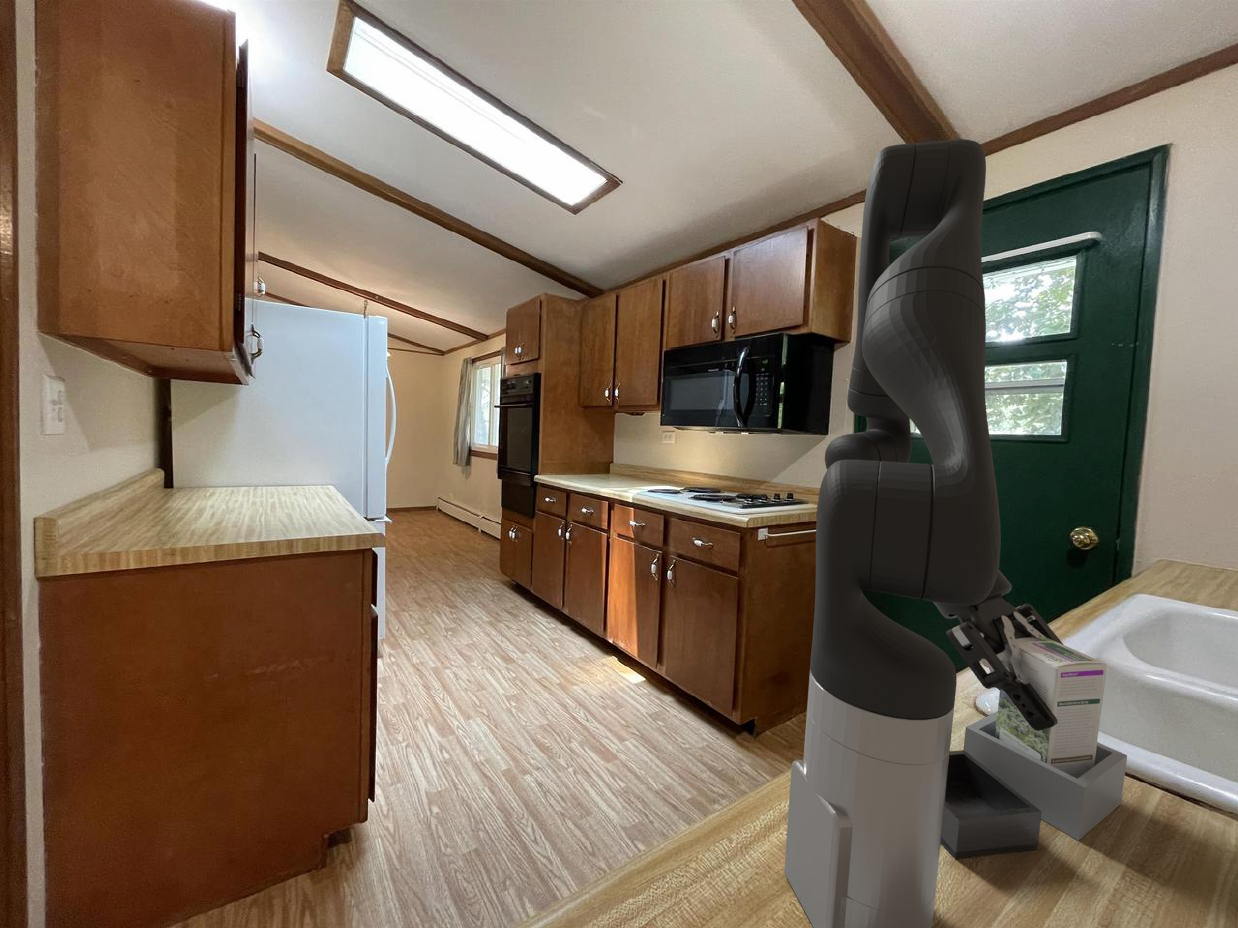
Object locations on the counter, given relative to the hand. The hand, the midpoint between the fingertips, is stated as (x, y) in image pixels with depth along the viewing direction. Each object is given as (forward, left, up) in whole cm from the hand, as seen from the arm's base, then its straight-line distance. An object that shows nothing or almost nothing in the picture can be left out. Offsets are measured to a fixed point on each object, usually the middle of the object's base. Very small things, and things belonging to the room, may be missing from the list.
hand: (1066, 716), depth 49 cm
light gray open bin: (-1, +1, -8) cm, 9 cm away
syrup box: (-1, +1, -9) cm, 9 cm away
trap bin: (-12, -1, -8) cm, 15 cm away
